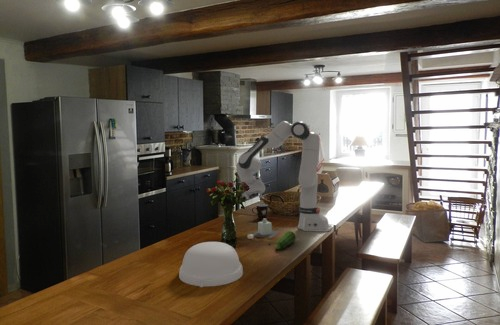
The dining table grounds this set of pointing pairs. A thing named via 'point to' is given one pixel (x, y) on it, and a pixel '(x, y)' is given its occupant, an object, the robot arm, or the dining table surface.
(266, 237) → the mat
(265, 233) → the square capped bottle
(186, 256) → the dome cover
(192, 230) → the dining table surface
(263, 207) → the coffee mug
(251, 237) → the glossy white pebble
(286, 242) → the vegetable
